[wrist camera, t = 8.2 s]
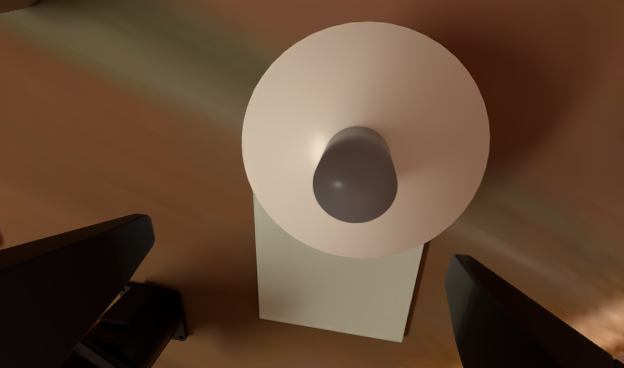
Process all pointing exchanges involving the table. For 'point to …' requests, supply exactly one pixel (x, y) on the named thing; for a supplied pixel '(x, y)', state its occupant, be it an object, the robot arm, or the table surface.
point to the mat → (332, 285)
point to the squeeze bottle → (14, 5)
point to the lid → (365, 140)
